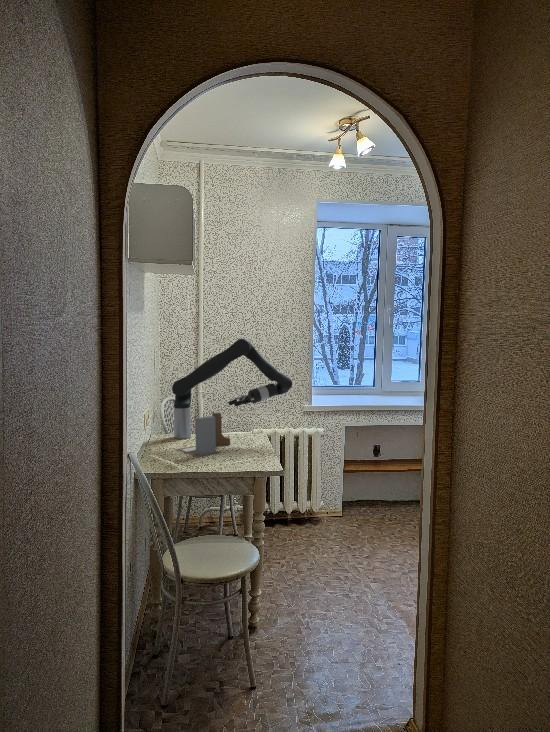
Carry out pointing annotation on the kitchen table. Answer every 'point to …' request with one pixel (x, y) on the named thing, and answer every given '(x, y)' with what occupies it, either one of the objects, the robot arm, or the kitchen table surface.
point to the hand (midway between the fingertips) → (231, 404)
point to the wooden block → (220, 431)
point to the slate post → (205, 435)
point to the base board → (194, 451)
